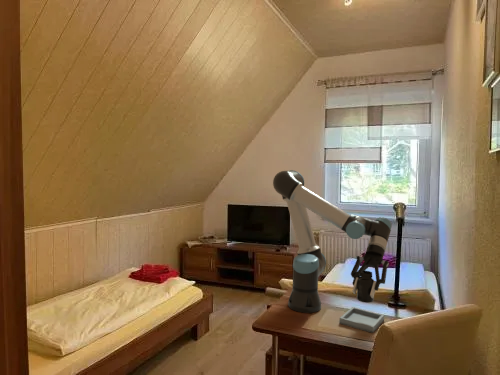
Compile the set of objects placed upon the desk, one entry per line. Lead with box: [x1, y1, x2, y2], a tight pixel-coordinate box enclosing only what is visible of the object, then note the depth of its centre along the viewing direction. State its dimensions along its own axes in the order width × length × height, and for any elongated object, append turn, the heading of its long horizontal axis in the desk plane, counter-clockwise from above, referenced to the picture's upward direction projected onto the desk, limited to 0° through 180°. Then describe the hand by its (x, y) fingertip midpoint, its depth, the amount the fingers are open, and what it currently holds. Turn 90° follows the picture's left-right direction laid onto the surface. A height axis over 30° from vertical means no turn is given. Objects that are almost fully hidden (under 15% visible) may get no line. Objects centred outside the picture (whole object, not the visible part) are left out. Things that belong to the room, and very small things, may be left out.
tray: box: [338, 306, 385, 334], centre depth 156 cm, size 14×15×2 cm
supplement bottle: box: [356, 270, 375, 304], centre depth 155 cm, size 7×7×12 cm
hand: (362, 294), depth 152 cm, fingers closed on supplement bottle, 7 cm apart
